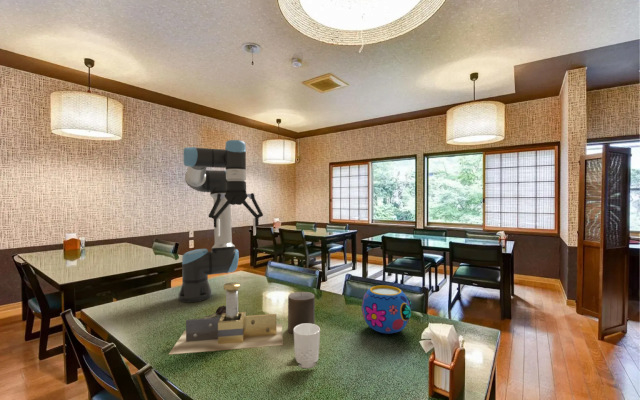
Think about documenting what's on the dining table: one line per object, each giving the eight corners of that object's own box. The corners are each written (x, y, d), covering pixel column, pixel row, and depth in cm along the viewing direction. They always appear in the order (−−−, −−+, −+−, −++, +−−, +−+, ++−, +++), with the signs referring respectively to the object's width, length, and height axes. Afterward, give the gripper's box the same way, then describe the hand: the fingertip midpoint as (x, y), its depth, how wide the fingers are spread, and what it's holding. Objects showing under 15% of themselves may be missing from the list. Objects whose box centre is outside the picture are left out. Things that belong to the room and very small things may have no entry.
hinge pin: (225, 334, 102) (225, 282, 102) (241, 333, 103) (241, 282, 103) (222, 341, 97) (222, 287, 97) (239, 340, 98) (239, 286, 98)
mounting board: (184, 334, 105) (184, 330, 105) (281, 327, 111) (281, 323, 111) (168, 358, 90) (168, 354, 90) (282, 348, 95) (282, 344, 95)
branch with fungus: (198, 334, 106) (198, 319, 106) (190, 329, 110) (189, 314, 110) (240, 318, 119) (240, 304, 119) (231, 314, 124) (231, 301, 124)
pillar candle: (304, 342, 99) (304, 298, 99) (282, 335, 104) (282, 293, 104) (319, 331, 107) (319, 290, 107) (298, 325, 112) (298, 286, 112)
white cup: (293, 355, 90) (293, 323, 90) (319, 354, 91) (318, 322, 91) (293, 370, 83) (293, 335, 83) (321, 369, 83) (321, 334, 83)
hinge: (190, 335, 102) (189, 315, 102) (276, 329, 106) (276, 309, 106) (182, 347, 94) (182, 325, 94) (276, 339, 98) (276, 318, 98)
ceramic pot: (411, 345, 96) (411, 300, 96) (358, 338, 102) (357, 295, 101) (411, 323, 113) (410, 284, 113) (365, 318, 118) (365, 281, 118)
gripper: (199, 180, 107) (200, 237, 107) (268, 180, 111) (269, 235, 111) (204, 181, 114) (205, 235, 115) (268, 181, 118) (269, 233, 118)
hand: (236, 235), depth 113 cm, fingers open, 13 cm apart
